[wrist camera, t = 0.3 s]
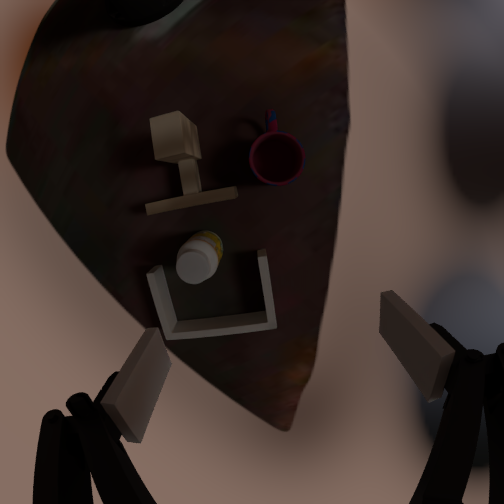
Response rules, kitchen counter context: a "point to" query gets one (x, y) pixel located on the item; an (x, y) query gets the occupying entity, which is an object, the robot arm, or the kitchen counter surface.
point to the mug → (276, 155)
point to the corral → (214, 324)
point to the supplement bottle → (199, 257)
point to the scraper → (182, 162)
